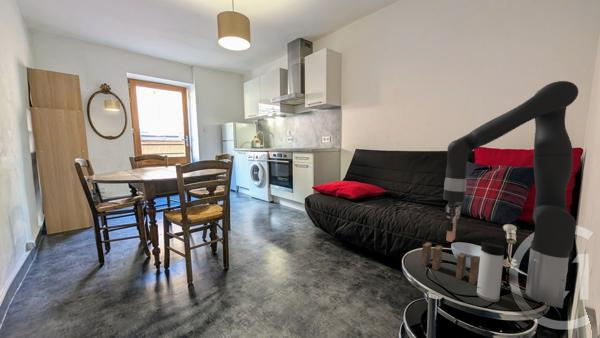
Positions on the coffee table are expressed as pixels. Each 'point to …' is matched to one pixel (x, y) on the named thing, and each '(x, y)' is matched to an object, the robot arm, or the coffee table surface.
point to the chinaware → (466, 251)
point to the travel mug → (490, 271)
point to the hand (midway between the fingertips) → (451, 229)
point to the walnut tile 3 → (461, 265)
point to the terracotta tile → (451, 235)
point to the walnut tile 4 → (474, 270)
